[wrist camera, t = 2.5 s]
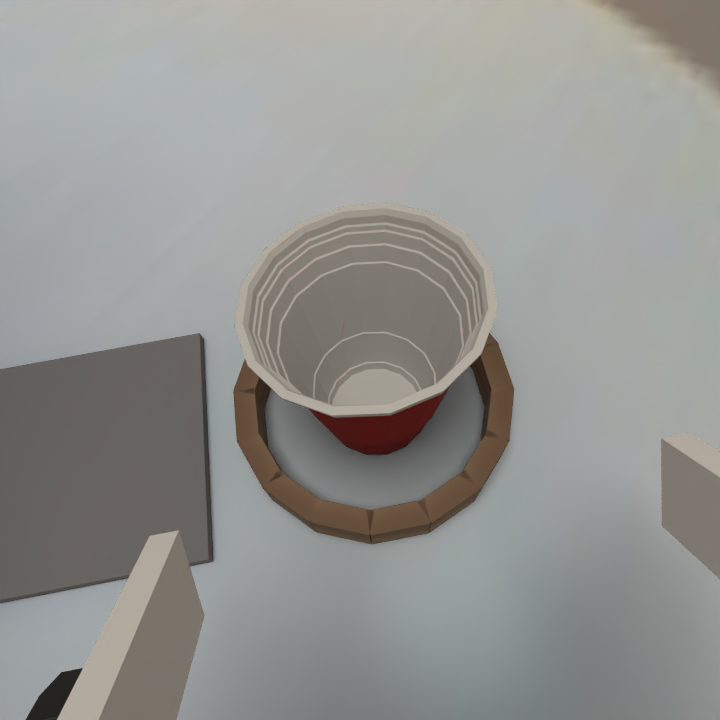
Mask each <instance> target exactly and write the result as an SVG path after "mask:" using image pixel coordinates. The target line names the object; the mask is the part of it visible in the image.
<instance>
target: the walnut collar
mask: <svg viewBox="0 0 720 720" xmlns="http://www.w3.org/2000/svg"><path fill="white" fill-rule="evenodd" d="M471 368H472V369H473V371H474V374H475V377H476V380H477V384H478V387H479V390H480V393H481V396H482V399H483V403H484V406H485V411H484V420H483V428H482V436H481V442H480V444H479V446H478V447H477V449H476V451H475V452H474V454H473V455H472V457H471V459H470V460H469V462H468V463H467V465H466V467H465V468H464V470H463V472H462V473H460V474H459V475H457V476H456V477H454V478H453V479H451V480H450V481H449V482H447V483H446V484H444V485H443V486H441V487H440V488H438V489H437V490H435V491H434V492H432V493H431V494H429V495H428V496H426V497H425V498H423V499H422V500H420V501H414V502H409V503H404V504H399V505H394V506H389V507H384V508H378V509H373V510H367V509H363V508H358V507H353V506H348V505H343V504H339V503H334V502H329V501H324V500H320V499H319V498H317V497H316V496H314V495H313V494H312V493H310V492H309V491H307V490H306V489H305V488H303V487H302V486H300V485H299V484H298V483H296V482H295V481H293V480H292V479H290V478H289V477H288V476H286V475H285V474H283V473H282V471H281V470H280V468H279V466H278V464H277V463H276V461H275V459H274V458H273V456H272V454H271V452H270V451H269V449H268V442H267V432H266V422H265V412H264V407H265V404H266V401H267V398H268V395H269V392H270V389H271V387H270V386H268V385H267V384H266V383H265V382H264V381H263V380H262V379H261V378H260V377H259V376H258V375H257V374H256V373H255V372H254V371H253V370H252V369H251V368H250V367H249V366H248V365H247V362H246V359H245V360H244V363H243V366H242V369H241V371H240V374H239V377H238V380H237V382H236V385H235V388H234V407H235V421H236V435H237V442H238V444H239V446H240V448H241V450H242V451H243V453H244V455H245V457H246V459H247V460H248V462H249V464H250V466H251V468H252V469H253V471H254V473H255V475H256V477H257V478H258V480H259V482H260V484H261V486H262V487H263V489H264V490H265V491H266V492H267V494H268V495H269V496H270V497H271V498H272V500H273V501H275V502H276V503H277V504H279V505H280V506H281V507H283V508H284V509H286V510H287V511H288V512H290V513H291V514H292V515H294V516H295V517H296V518H298V519H299V520H301V521H302V522H303V523H305V524H306V525H307V526H309V527H310V528H311V529H313V530H314V531H316V532H318V533H323V534H327V535H332V536H336V537H341V538H346V539H350V540H355V541H359V542H364V543H368V544H371V543H372V544H376V543H381V542H386V541H391V540H396V539H401V538H406V537H411V536H417V535H422V534H427V533H428V532H431V531H432V530H434V529H435V528H437V527H438V526H439V525H441V524H442V523H444V522H445V521H447V520H448V519H450V518H451V517H452V516H454V515H455V514H457V513H458V512H460V511H461V510H462V509H464V508H465V507H467V506H468V505H470V504H471V503H473V502H474V501H475V499H476V497H477V496H478V494H479V492H480V491H481V489H482V487H483V486H484V484H485V482H486V481H487V479H488V477H489V476H490V474H491V472H492V471H493V469H494V467H495V465H496V464H497V462H498V460H499V459H500V457H501V455H502V453H503V452H504V450H505V448H506V446H507V444H508V442H509V438H510V427H511V417H512V406H513V396H514V387H513V385H512V382H511V379H510V376H509V373H508V370H507V368H506V365H505V362H504V359H503V356H502V353H501V350H500V348H499V345H498V343H497V341H496V340H495V339H494V338H493V337H492V335H491V334H490V333H489V335H488V337H487V340H486V343H485V346H484V348H483V351H482V353H481V355H480V356H479V357H478V359H477V360H476V361H475V362H474V363H473V364H472V365H471Z"/></svg>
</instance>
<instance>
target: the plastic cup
mask: <svg viewBox="0 0 720 720" xmlns="http://www.w3.org/2000/svg"><path fill="white" fill-rule="evenodd" d="M497 310H498V308H497V301H496V294H495V287H494V280H493V273H492V267H491V266H490V265H489V263H488V262H487V260H486V259H485V258H484V256H483V255H482V254H481V252H480V251H479V249H478V248H477V247H476V245H475V244H474V242H473V241H472V240H471V238H470V237H469V235H468V234H467V233H465V232H463V231H462V230H460V229H458V228H457V227H455V226H453V225H452V224H450V223H448V222H447V221H445V220H443V219H442V218H440V217H438V216H436V215H435V214H433V213H431V212H428V211H424V210H419V209H414V208H409V207H404V206H399V205H395V204H390V203H379V204H368V205H356V206H344V207H339V208H337V209H334V210H331V211H329V212H326V213H324V214H321V215H318V216H316V217H313V218H310V219H308V220H305V221H302V222H300V223H298V224H297V225H295V226H294V227H293V228H292V229H290V230H289V231H288V232H286V233H285V234H284V235H282V236H281V237H280V238H279V239H277V240H276V241H275V242H273V243H272V244H271V245H269V246H268V247H267V248H265V249H264V250H263V252H262V253H261V255H260V256H259V258H258V260H257V261H256V263H255V264H254V266H253V267H252V269H251V270H250V272H249V273H248V275H247V277H246V278H245V280H244V281H243V283H242V284H241V288H240V294H239V300H238V306H237V312H236V318H235V325H234V326H235V329H236V332H237V335H238V338H239V341H240V344H241V347H242V350H243V353H244V356H245V359H246V362H247V365H248V366H249V367H250V368H251V369H252V370H253V371H254V372H255V373H256V374H257V375H258V376H259V377H260V378H261V379H262V380H263V381H264V382H265V383H266V384H267V385H268V386H270V387H271V388H272V389H273V390H274V391H275V392H276V393H277V394H278V395H279V396H280V397H281V398H282V399H284V400H286V401H289V402H292V403H294V404H297V405H300V406H303V407H306V408H308V409H309V410H310V411H311V412H312V413H313V414H314V415H315V416H316V417H317V418H318V419H319V420H320V421H321V422H322V423H323V424H324V425H325V426H326V427H327V428H328V429H329V430H330V431H331V432H332V433H333V434H334V435H335V436H336V437H337V438H338V439H339V440H340V441H341V442H342V443H343V444H344V445H345V446H346V447H349V448H351V449H354V450H356V451H359V452H362V453H364V454H388V453H390V452H393V451H395V450H398V449H400V448H403V447H405V446H407V445H408V444H409V443H410V442H411V441H412V440H413V439H414V438H415V437H416V436H417V435H418V434H419V433H420V432H421V430H422V428H423V427H424V425H425V424H426V423H427V422H428V421H429V420H430V419H431V417H432V415H433V414H434V412H435V410H436V409H437V407H438V405H439V404H440V402H441V400H442V399H443V397H444V395H445V393H446V392H447V390H448V388H449V387H450V385H452V384H453V383H454V382H455V380H456V379H457V378H458V377H459V376H460V375H461V374H462V373H464V372H465V371H466V370H467V369H468V368H469V367H470V366H471V365H472V364H473V363H474V362H475V361H476V360H477V359H478V357H479V356H480V355H481V353H482V351H483V348H484V346H485V343H486V340H487V337H488V335H489V332H490V329H491V326H492V324H493V321H494V318H495V315H496V313H497Z"/></svg>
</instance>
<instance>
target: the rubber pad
mask: <svg viewBox="0 0 720 720" xmlns="http://www.w3.org/2000/svg"><path fill="white" fill-rule="evenodd" d="M178 530H179V533H180V536H181V539H182V543H183V546H184V549H185V553H186V556H187V559H188V563H189V566H193V565H198V564H203V563H208V562H213V547H212V524H211V501H210V477H209V454H208V431H207V408H206V385H205V361H204V339H203V338H202V336H201V335H200V333H198V334H193V335H187V336H182V337H176V338H171V339H165V340H160V341H154V342H149V343H143V344H138V345H132V346H127V347H121V348H116V349H110V350H105V351H99V352H94V353H88V354H83V355H77V356H72V357H66V358H61V359H55V360H50V361H44V362H39V363H33V364H28V365H22V366H17V367H11V368H6V369H0V603H3V602H9V601H14V600H19V599H24V598H29V597H34V596H39V595H44V594H49V593H55V592H60V591H65V590H70V589H75V588H80V587H85V586H90V585H95V584H101V583H106V582H111V581H116V580H121V579H126V578H129V576H130V574H131V572H132V570H133V568H134V566H135V564H136V562H137V560H138V558H139V556H140V554H141V552H142V550H143V548H144V546H145V544H146V542H147V540H148V538H149V536H152V535H157V534H162V533H167V532H173V531H178Z"/></svg>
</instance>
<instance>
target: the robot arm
mask: <svg viewBox="0 0 720 720" xmlns="http://www.w3.org/2000/svg"><path fill="white" fill-rule="evenodd" d="M661 481H662V526H663V527H664V528H665V529H666V530H667V531H668V532H669V533H670V534H671V535H672V536H674V537H675V538H676V539H677V540H678V541H679V542H680V543H681V544H682V545H683V546H684V547H685V548H687V549H688V550H689V551H690V552H691V553H692V554H693V555H694V556H695V557H696V558H697V559H699V560H700V561H701V562H702V563H703V564H704V565H705V566H706V567H707V568H708V569H709V570H711V571H712V572H713V573H714V574H715V575H716V576H717V577H718V578H719V579H720V452H719V451H718V450H716V449H714V448H713V447H711V446H709V445H708V444H706V443H704V442H703V441H701V440H699V439H698V438H696V437H694V436H693V435H691V434H689V433H686V434H680V435H675V436H670V437H665V438H661ZM203 619H204V612H203V609H202V606H201V602H200V599H199V596H198V592H197V589H196V586H195V582H194V579H193V576H192V572H191V569H190V566H189V563H188V559H187V556H186V553H185V549H184V546H183V543H182V539H181V536H180V533H179V530H178V531H173V532H167V533H162V534H157V535H152V536H149V538H148V540H147V542H146V544H145V546H144V548H143V550H142V552H141V554H140V556H139V558H138V560H137V562H136V564H135V566H134V568H133V570H132V572H131V574H130V576H129V578H128V580H127V582H126V584H125V586H124V588H123V590H122V592H121V594H120V596H119V598H118V600H117V602H116V604H115V606H114V608H113V610H112V612H111V614H110V616H109V618H108V620H107V622H106V624H105V626H104V628H103V629H102V631H101V633H100V635H99V637H98V639H97V641H96V643H95V645H94V647H93V649H92V651H91V653H90V655H89V657H88V659H87V661H86V663H85V665H84V667H83V668H81V669H76V670H71V671H66V672H61V673H60V674H59V676H58V677H57V678H56V679H55V680H54V681H53V682H52V683H51V684H50V685H49V686H48V687H47V688H46V689H45V690H44V691H43V693H42V694H41V695H40V696H39V697H38V699H37V701H36V703H35V704H34V706H33V708H32V710H31V711H30V713H29V715H28V717H27V718H26V720H176V719H177V715H178V711H179V707H180V704H181V700H182V696H183V693H184V689H185V685H186V682H187V678H188V674H189V671H190V667H191V663H192V660H193V656H194V652H195V649H196V645H197V641H198V638H199V634H200V630H201V627H202V623H203Z"/></svg>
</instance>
